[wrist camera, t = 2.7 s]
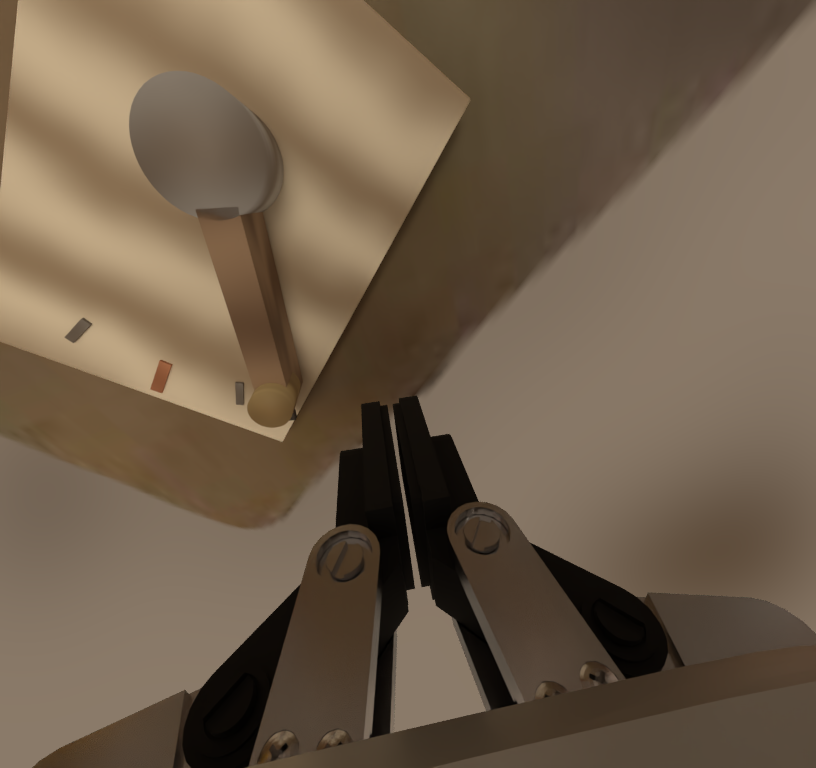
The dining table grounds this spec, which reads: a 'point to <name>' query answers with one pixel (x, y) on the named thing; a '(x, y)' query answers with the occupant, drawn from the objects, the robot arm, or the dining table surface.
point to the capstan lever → (225, 215)
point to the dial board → (180, 232)
